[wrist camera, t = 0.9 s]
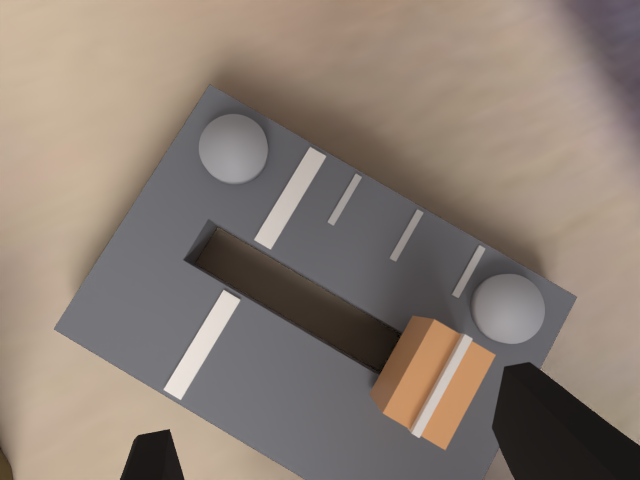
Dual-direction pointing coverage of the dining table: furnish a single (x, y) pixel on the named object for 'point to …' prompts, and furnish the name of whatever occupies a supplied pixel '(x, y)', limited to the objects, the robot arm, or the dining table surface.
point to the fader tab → (431, 379)
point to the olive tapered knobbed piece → (5, 468)
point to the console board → (320, 268)
